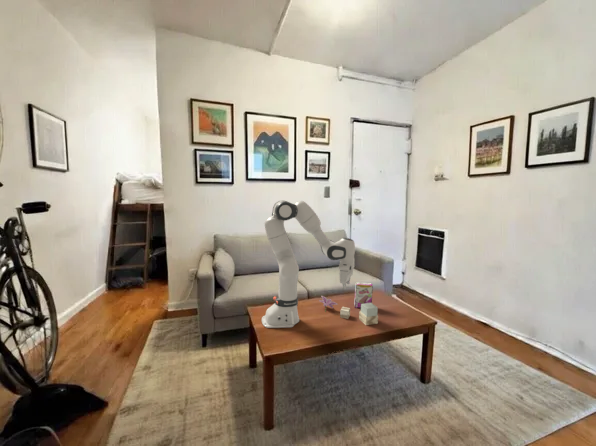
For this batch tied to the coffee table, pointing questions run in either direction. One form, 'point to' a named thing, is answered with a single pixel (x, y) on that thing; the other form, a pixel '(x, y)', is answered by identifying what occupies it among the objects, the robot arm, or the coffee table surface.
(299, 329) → the coffee table surface
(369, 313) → the tower top
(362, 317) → the tower base
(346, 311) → the cube
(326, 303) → the lily
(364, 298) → the candy bar box
